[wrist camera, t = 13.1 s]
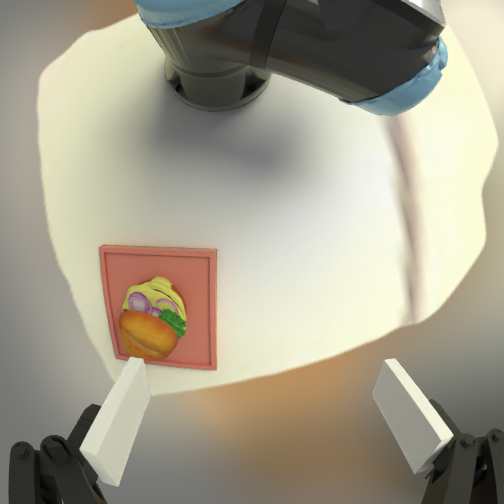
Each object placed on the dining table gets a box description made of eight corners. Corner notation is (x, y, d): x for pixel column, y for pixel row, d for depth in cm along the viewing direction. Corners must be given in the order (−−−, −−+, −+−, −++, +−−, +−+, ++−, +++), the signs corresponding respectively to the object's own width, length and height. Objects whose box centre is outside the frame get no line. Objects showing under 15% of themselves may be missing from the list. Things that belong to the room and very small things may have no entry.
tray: (103, 244, 38) (98, 246, 36) (216, 249, 39) (215, 251, 37) (119, 354, 42) (116, 358, 41) (217, 365, 43) (216, 370, 42)
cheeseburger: (199, 283, 39) (184, 331, 30) (187, 333, 43) (174, 380, 34) (134, 263, 37) (105, 304, 29) (131, 315, 42) (108, 357, 33)
